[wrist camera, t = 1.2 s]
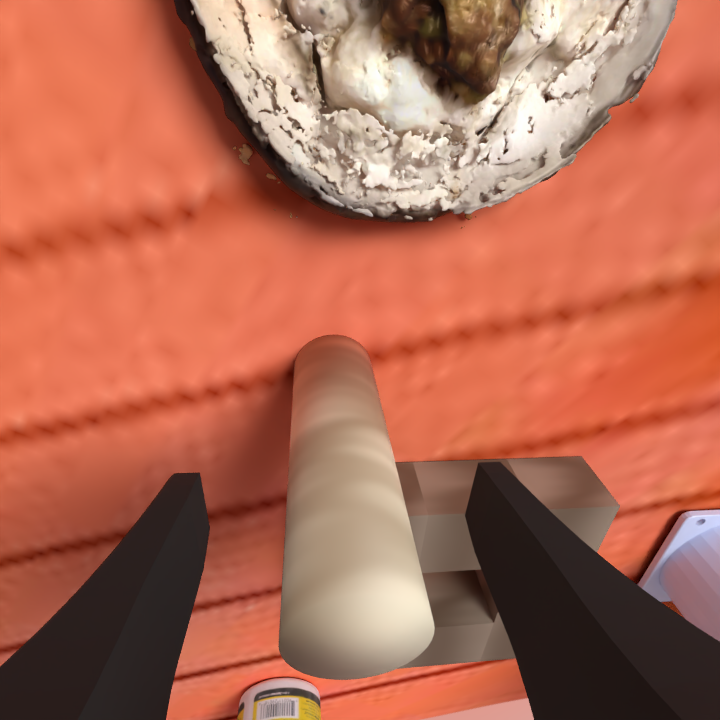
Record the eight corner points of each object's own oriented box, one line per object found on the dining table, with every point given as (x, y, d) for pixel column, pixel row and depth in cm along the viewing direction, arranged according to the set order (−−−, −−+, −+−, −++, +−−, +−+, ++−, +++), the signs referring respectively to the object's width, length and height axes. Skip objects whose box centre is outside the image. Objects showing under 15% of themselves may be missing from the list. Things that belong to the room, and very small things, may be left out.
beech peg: (373, 334, 16) (445, 588, 8) (368, 400, 18) (424, 673, 9) (293, 334, 16) (275, 599, 7) (295, 401, 17) (281, 686, 9)
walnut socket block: (581, 456, 21) (620, 505, 18) (521, 602, 27) (544, 655, 24) (330, 464, 19) (333, 519, 17) (327, 617, 25) (329, 674, 23)
